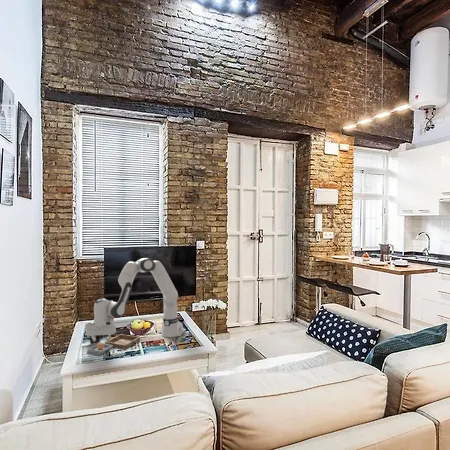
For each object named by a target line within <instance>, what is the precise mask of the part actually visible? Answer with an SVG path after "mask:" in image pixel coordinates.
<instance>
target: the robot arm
mask: <svg viewBox="0 0 450 450" xmlns="http://www.w3.org/2000/svg"><path fill="white" fill-rule="evenodd" d="M147 272H150V273H151V274H152V277H153V279H154V281H155V282H156V284H157V286H158V288H159V290H160V292H161V294H162V296H163V297H162V298H163V299H162V301H163V303H162V305H163V317H162V323H161V331H160V334H161V336H162V337H164V338H177V337H181V336H182V335H183V334H184V332H185V331H186V328H184V326H183V323H182V322H181V321H179V319H180V318H181V316H179V315H178V303H177V302H178V298H179V294H178V293H179V292H178V290H177V289H176V287H175V285H174V283H173V281H172V279H171V278H170V276H169V273H168V272H167V270H166V267H164V265H163V264H162V262H161V261H160V260H152V258H149V257H143V258H139V259H137V260H136V261H128V262H127V263H126V264H125V265H124V266H123V268H122V269H121V272H120V274H119V276H118V278H117V281H118V284H119V286H120V288H121V292H120V295H119V299H118V301H117V302H116V301H113V300H109V299H106V298H98V299H97V300H95V301H94V305H93V314H94V318H93V322H92V321H91V322H87V323H85V332H86V333H85V336H86V337H90V336H91V338H92V339H93V342H95V341H96V338H94V336H96V335H100V336H107V337H106V341H109V340H110V338H111V335H112V336H113V335H115V334H116V333H117V329H116V324H115V318H116V319H119V318H120V319H121V318H122V317H123V316H124V315H125V313H126V310H127V309H126V308H127V304H128V301H129V298H130V295H131V293H132V288H133V283H134V280H135V277H136V276H137V274H138V273H147ZM107 315H112V316H113V317H114V320H113V319H109V318H107Z"/></svg>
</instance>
